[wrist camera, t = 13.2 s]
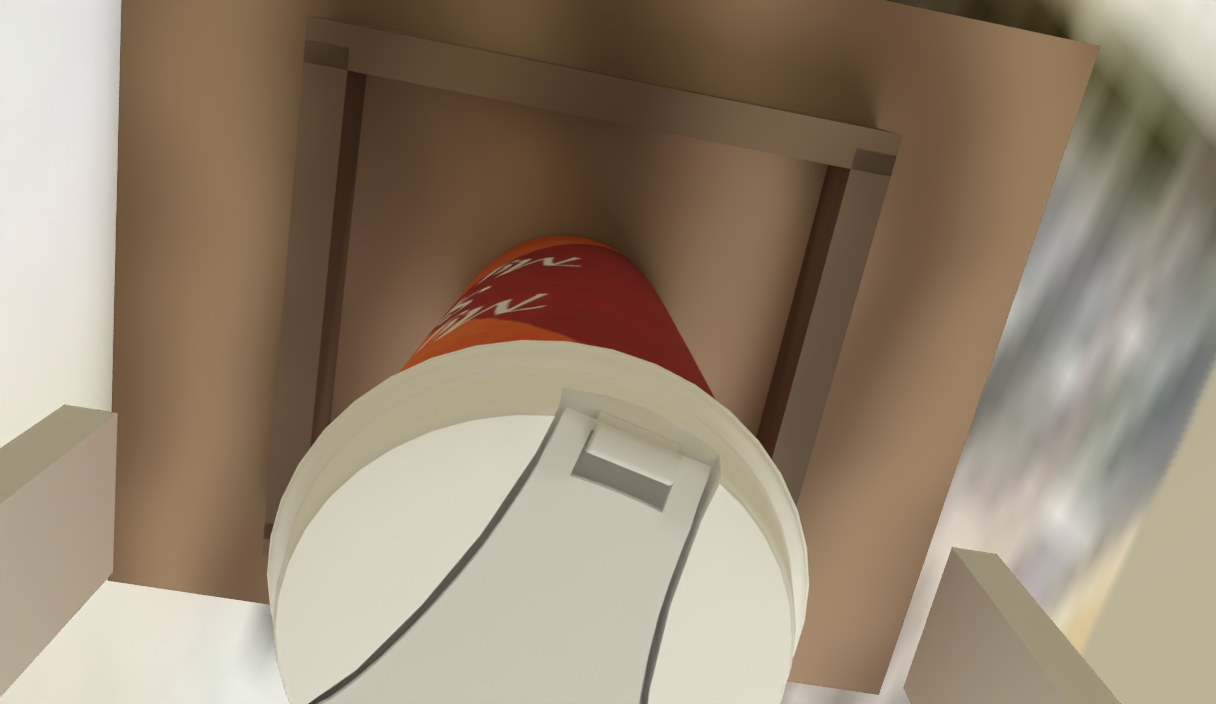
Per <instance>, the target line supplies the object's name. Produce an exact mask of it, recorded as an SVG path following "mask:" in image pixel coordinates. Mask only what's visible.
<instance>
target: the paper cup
mask: <svg viewBox="0 0 1216 704" xmlns="http://www.w3.org/2000/svg"><path fill="white" fill-rule="evenodd" d="M267 580H268V590H269V601H270V611H271V615H272V618H273V631H274V642H275V653H276V661H277V664H278V668H279V671H280V675H281V679H282V682H283V686H284V689H285V693H286V695H287V698H288V700H289V702H290V704H780V702H781V700H782V696H783V693H784V690H785V687H786V683H787V680H788V677H789V674H790V670H791V667H792V659H793V657H794V654H795V651H796V648H797V644H798V641H799V638H800V635H801V631H802V628H803V625H804V622H805V615H806V606H807V598H808V590H809V574H808V557H807V546H806V542H805V538H804V534H803V530H802V526H801V522H800V517H799V513H798V510H797V508H796V506H795V503H794V501H793V499H792V497H791V494H790V492H789V490H788V488H787V485H786V483H785V481H784V479H783V477H782V474H781V473H780V471H779V470H778V468H777V467H776V465H775V464H774V462H773V461H772V459H771V458H770V456H769V455H768V453H767V452H766V450H765V449H764V448H763V446H762V445H761V443H760V442H759V440H758V439H757V438H756V437H755V436H754V435H753V434H752V433H751V432H750V431H749V430H748V429H747V428H746V427H745V426H744V425H743V424H742V423H741V421H740V420H739V419H738V418H737V417H736V416H735V415H734V414H733V413H732V412H731V411H730V410H729V409H727V408H726V407H725V406H723V405H722V404H721V403H719V402H718V401H717V400H716V399H715V397H714V395H713V393H712V392H711V390H710V388H709V386H708V384H707V382H706V380H705V378H704V377H703V375H702V373H701V371H700V369H699V367H698V365H697V364H696V362H695V360H694V358H693V356H692V354H691V352H690V351H689V349H688V347H687V345H686V343H685V342H684V340H683V338H682V336H681V334H680V332H679V331H678V329H677V327H676V325H675V323H674V321H673V320H672V318H671V316H670V314H669V313H668V311H667V309H666V307H665V306H664V304H663V302H662V301H661V299H660V297H659V296H658V294H657V293H656V291H655V289H654V288H653V286H652V285H651V283H650V282H649V281H648V279H647V278H646V277H645V275H644V274H643V273H642V272H641V271H640V270H639V269H638V267H637V266H636V265H634V264H633V263H632V262H631V261H630V260H629V259H628V258H627V257H625V256H624V255H622V254H621V253H620V252H618V251H616V250H615V249H613V248H611V247H609V246H607V245H605V244H603V243H600V242H598V241H595V240H591V239H588V238H583V237H578V236H569V235H554V236H545V237H539V238H535V239H531V240H528V241H525V242H523V243H520V244H518V245H516V246H514V247H512V248H510V249H508V250H507V251H505V252H504V253H502V254H501V255H499V256H498V257H497V258H495V259H494V260H493V261H492V262H491V263H490V264H488V265H487V266H486V267H485V268H484V269H483V270H482V271H481V272H480V273H479V274H478V275H477V277H476V278H475V279H474V280H473V281H472V282H471V283H470V284H469V286H468V287H467V288H466V289H465V290H464V292H463V293H462V294H461V295H460V296H459V298H458V299H457V300H456V301H455V302H454V304H453V305H452V306H451V307H450V309H449V310H448V311H447V312H446V314H445V315H444V316H443V317H442V319H441V320H440V321H439V322H438V324H437V325H436V326H435V327H434V328H433V330H432V331H431V332H430V333H429V335H428V336H427V337H426V338H425V340H424V341H423V342H422V344H421V345H420V346H419V347H418V349H417V350H416V351H415V352H414V354H413V355H412V356H411V357H410V359H409V360H408V361H407V363H406V364H405V365H404V366H403V368H402V369H401V370H400V371H399V373H398V374H395V375H393V376H391V377H389V378H388V379H386V380H385V381H383V382H382V383H380V384H379V385H377V386H376V387H374V388H373V389H371V390H370V391H368V392H367V393H366V394H364V395H363V396H361V397H360V398H358V399H357V400H355V401H354V402H353V403H352V404H351V405H350V406H349V407H348V408H346V409H345V410H344V411H343V412H342V413H341V414H340V415H339V416H338V417H337V418H336V419H335V420H334V421H333V422H332V423H331V424H330V425H328V426H327V427H326V428H325V429H324V430H323V432H322V433H321V434H320V436H319V437H318V438H317V440H316V441H315V443H314V444H313V445H312V447H311V448H310V449H309V451H308V452H307V453H306V455H305V456H304V457H303V459H302V460H301V461H300V463H299V464H298V466H297V468H296V470H295V472H294V474H293V476H292V478H291V480H290V482H289V484H288V486H287V488H286V490H285V492H284V494H283V496H282V498H281V501H280V504H279V508H278V512H277V515H276V519H275V522H274V526H273V529H272V533H271V536H270V547H269V558H268V569H267Z"/></svg>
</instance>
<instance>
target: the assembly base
mask: <svg viewBox="0 0 1216 704" xmlns="http://www.w3.org/2000/svg"><path fill="white" fill-rule="evenodd" d="M1099 49H1100V46H1098V45H1093V44H1088V43H1084V42H1079V41H1074V40H1070V39H1065V38H1060V37H1056V36H1051V35H1046V34H1041V33H1037V32H1032V31H1027V30H1023V29H1018V28H1013V27H1008V26H1004V25H999V24H994V23H990V22H985V21H980V20H975V19H971V18H966V17H961V16H957V15H952V14H947V13H942V12H938V11H933V10H928V9H924V8H919V7H914V6H909V5H905V4H900V3H895V2H891V1H886V0H122V4H121V45H120V87H119V129H118V171H117V213H116V254H115V296H114V338H113V380H112V412H114V413H118V414H117V449H116V483H115V518H114V552H113V573H112V574H111V575H110V576H109V577H108V581H114V582H121V583H128V584H134V585H141V586H148V587H155V588H161V589H168V590H175V591H182V592H188V593H195V594H202V595H209V596H215V597H222V598H229V599H236V600H242V601H249V602H256V603H263V604H269V605H270V601H269V590H268V580H267V569H268V558H269V547H270V536H271V533H272V529H273V526H274V522H275V519H276V515H277V512H278V508H279V504H280V501H281V498H282V496H283V494H284V492H285V490H286V488H287V486H288V484H289V482H290V480H291V478H292V476H293V474H294V472H295V470H296V468H297V466H298V464H299V463H300V461H301V460H302V459H303V457H304V456H305V455H306V453H307V452H308V451H309V449H310V448H311V447H312V445H313V444H314V443H315V441H316V440H317V438H318V437H319V436H320V434H321V433H322V432H323V430H324V429H325V428H326V427H327V426H328V425H330V424H331V423H332V422H333V421H334V420H335V419H336V418H337V417H338V416H339V415H340V414H341V413H342V412H343V411H344V410H345V409H346V408H348V407H349V406H350V405H351V404H352V403H353V402H354V401H355V400H357V399H358V398H360V397H361V396H363V395H364V394H366V393H367V392H368V391H370V390H371V389H373V388H374V387H376V386H377V385H379V384H380V383H382V382H383V381H385V380H386V379H388V378H389V377H391V376H393V375H395V374H398V373H399V371H400V370H401V369H402V368H403V366H404V365H405V364H406V363H407V361H408V360H409V359H410V357H411V356H412V355H413V354H414V352H415V351H416V350H417V349H418V347H419V346H420V345H421V344H422V342H423V341H424V340H425V338H426V337H427V336H428V335H429V333H430V332H431V331H432V330H433V328H434V327H435V326H436V325H437V324H438V322H439V321H440V320H441V319H442V317H443V316H444V315H445V314H446V312H447V311H448V310H449V309H450V307H451V306H452V305H453V304H454V302H455V301H456V300H457V299H458V298H459V296H460V295H461V294H462V293H463V292H464V290H465V289H466V288H467V287H468V286H469V284H470V283H471V282H472V281H473V280H474V279H475V278H476V277H477V275H478V274H479V273H480V272H481V271H482V270H483V269H484V268H485V267H486V266H487V265H488V264H490V263H491V262H492V261H493V260H494V259H495V258H497V257H498V256H499V255H501V254H502V253H504V252H505V251H507V250H508V249H510V248H512V247H514V246H516V245H518V244H520V243H523V242H525V241H528V240H531V239H535V238H539V237H545V236H554V235H569V236H578V237H583V238H588V239H591V240H595V241H598V242H600V243H603V244H605V245H607V246H609V247H611V248H613V249H615V250H616V251H618V252H620V253H621V254H622V255H624V256H625V257H627V258H628V259H629V260H630V261H631V262H632V263H633V264H634V265H636V266H637V267H638V269H639V270H640V271H641V272H642V273H643V274H644V275H645V277H646V278H647V279H648V281H649V282H650V283H651V285H652V286H653V288H654V289H655V291H656V293H657V294H658V296H659V297H660V299H661V301H662V302H663V304H664V306H665V307H666V309H667V311H668V313H669V314H670V316H671V318H672V320H673V321H674V323H675V325H676V327H677V329H678V331H679V332H680V334H681V336H682V338H683V340H684V342H685V343H686V345H687V347H688V349H689V351H690V352H691V354H692V356H693V358H694V360H695V362H696V364H697V365H698V367H699V369H700V371H701V373H702V375H703V377H704V378H705V380H706V382H707V384H708V386H709V388H710V390H711V392H712V393H713V395H714V397H715V399H716V400H717V401H718V402H719V403H721V404H722V405H723V406H725V407H726V408H727V409H729V410H730V411H731V412H732V413H733V414H734V415H735V416H736V417H737V418H738V419H739V420H740V421H741V423H742V424H743V425H744V426H745V427H746V428H747V429H748V430H749V431H750V432H751V433H752V434H753V435H754V436H755V437H756V438H757V439H758V440H759V442H760V443H761V445H762V446H763V448H764V449H765V450H766V452H767V453H768V455H769V456H770V458H771V459H772V461H773V462H774V464H775V465H776V467H777V468H778V470H779V471H780V473H781V474H782V477H783V479H784V481H785V483H786V485H787V488H788V490H789V492H790V494H791V497H792V499H793V501H794V503H795V506H796V508H797V510H798V513H799V517H800V522H801V526H802V530H803V534H804V538H805V542H806V546H807V557H808V574H809V590H808V598H807V606H806V615H805V622H804V625H803V628H802V631H801V635H800V638H799V641H798V644H797V648H796V651H795V654H794V657H793V659H792V667H791V670H790V674H789V677H788V680H787V681H789V682H796V683H803V684H809V685H816V686H823V687H830V688H836V689H843V690H850V691H857V692H863V693H870V694H877V695H879V692H880V689H881V686H882V684H883V681H884V678H885V675H886V672H887V669H888V666H889V663H890V660H891V657H892V654H893V651H894V648H895V645H896V643H897V640H898V637H899V634H900V631H901V628H902V625H903V622H904V619H905V616H906V613H907V610H908V607H909V605H910V602H911V599H912V596H913V593H914V590H915V587H916V584H917V581H918V578H919V575H920V572H921V569H922V567H923V564H924V561H925V558H926V555H927V552H928V549H929V546H930V543H931V540H932V537H933V534H934V531H935V529H936V526H937V523H938V520H939V517H940V514H941V511H942V508H943V505H944V502H945V499H946V496H947V493H948V490H949V488H950V485H951V482H952V479H953V476H954V473H955V470H956V467H957V464H958V461H959V458H960V455H961V452H962V450H963V447H964V444H965V441H966V438H967V435H968V432H969V429H970V426H971V423H972V420H973V417H974V414H975V412H976V409H977V406H978V403H979V400H980V397H981V394H982V391H983V388H984V385H985V382H986V379H987V376H988V373H989V371H990V368H991V365H992V362H993V359H994V356H995V353H996V350H997V347H998V344H999V341H1000V338H1001V335H1002V333H1003V330H1004V327H1005V324H1006V321H1007V318H1008V315H1009V312H1010V309H1011V306H1012V303H1013V300H1014V297H1015V295H1016V292H1017V289H1018V286H1019V283H1020V280H1021V277H1022V274H1023V271H1024V268H1025V265H1026V262H1027V259H1028V256H1029V254H1030V251H1031V248H1032V245H1033V242H1034V239H1035V236H1036V233H1037V230H1038V227H1039V224H1040V221H1041V218H1042V216H1043V213H1044V210H1045V207H1046V204H1047V201H1048V198H1049V195H1050V192H1051V189H1052V186H1053V183H1054V180H1055V178H1056V175H1057V172H1058V169H1059V166H1060V163H1061V160H1062V157H1063V154H1064V151H1065V148H1066V145H1067V142H1068V140H1069V137H1070V134H1071V131H1072V128H1073V125H1074V122H1075V119H1076V116H1077V113H1078V110H1079V107H1080V104H1081V101H1082V99H1083V96H1084V93H1085V90H1086V87H1087V84H1088V81H1089V78H1090V75H1091V72H1092V69H1093V66H1094V63H1095V61H1096V58H1097V55H1098V52H1099Z"/></svg>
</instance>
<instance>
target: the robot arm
mask: <svg viewBox="0 0 1216 704" xmlns="http://www.w3.org/2000/svg"><path fill="white" fill-rule="evenodd" d="M117 414H118V413H114V412H107V411H101V410H95V409H89V408H82V407H76V406H70V405H63V406H62V407H60V408H59V409H57V410H56V411H55V412H53V413H52V414H50V415H49V416H47V417H46V418H44V419H43V420H41V421H40V422H38V423H37V424H35V425H34V426H32V427H31V428H30V429H28V430H27V431H25V432H24V433H22V434H21V435H19V436H18V437H16V438H15V439H13V440H12V441H10V442H9V443H7V444H6V445H5V446H3V447H2V448H0V697H1V696H2V695H3V694H4V693H5V691H6V690H7V689H8V688H9V687H10V686H11V685H12V684H13V683H14V681H15V680H16V679H17V678H18V677H19V676H20V675H21V674H22V673H23V671H24V670H25V669H26V668H27V667H28V666H29V665H30V664H31V663H32V661H33V660H34V659H35V658H36V657H37V656H38V655H39V654H40V653H41V651H42V650H43V649H44V648H45V647H46V646H47V645H48V644H49V643H50V642H51V640H52V639H53V638H54V637H55V636H56V635H57V634H58V633H59V632H60V630H61V629H62V628H63V627H64V626H65V625H66V624H67V623H68V622H69V620H70V619H71V618H72V617H73V616H74V615H75V614H76V613H77V612H78V610H79V609H80V608H81V607H82V606H83V605H84V604H85V603H86V602H87V600H88V599H89V598H90V597H91V596H92V595H93V594H94V593H95V592H96V590H97V589H98V588H99V587H100V586H101V585H102V584H103V583H104V582H105V581H106V579H107V578H108V577H109V576H110V575H111V574H112V573H113V552H114V518H115V483H116V449H117ZM903 688H904V690H905V692H906V694H907V696H908V698H909V700H910V702H911V704H1121V703H1120V702H1119V701H1118V700H1117V698H1116V697H1115V696H1114V695H1113V694H1112V692H1111V691H1110V690H1109V689H1108V688H1107V686H1106V685H1105V684H1104V683H1103V682H1102V680H1101V679H1100V678H1099V677H1098V675H1097V674H1096V673H1095V672H1094V671H1093V669H1092V668H1091V667H1090V666H1089V665H1088V663H1087V662H1086V661H1085V660H1084V659H1083V657H1082V656H1081V655H1080V654H1079V653H1078V651H1077V650H1076V649H1075V648H1074V647H1073V645H1072V644H1071V643H1070V642H1069V640H1068V639H1067V638H1066V637H1065V636H1064V634H1063V633H1062V632H1061V631H1060V630H1059V628H1058V627H1057V626H1056V625H1055V624H1054V622H1053V621H1052V620H1051V619H1050V618H1049V616H1048V615H1047V614H1046V613H1045V612H1044V610H1043V609H1042V608H1041V607H1040V606H1039V604H1038V603H1037V602H1036V601H1035V600H1034V598H1033V597H1032V596H1031V595H1030V593H1029V592H1028V591H1027V590H1026V589H1025V587H1024V586H1023V585H1022V584H1021V583H1020V581H1019V580H1018V579H1017V578H1016V577H1015V575H1014V574H1013V573H1012V572H1011V571H1010V569H1009V568H1008V567H1007V566H1006V565H1005V563H1004V562H1003V561H1002V560H1001V559H1000V557H999V556H998V555H997V554H992V553H986V552H979V551H973V550H967V549H961V548H955V547H952V549H951V552H950V555H949V558H948V561H947V563H946V566H945V569H944V572H943V575H942V578H941V581H940V584H939V587H938V589H937V592H936V595H935V598H934V601H933V604H932V607H931V610H930V612H929V615H928V618H927V621H926V624H925V627H924V630H923V633H922V635H921V638H920V641H919V644H918V647H917V650H916V653H915V656H914V659H913V661H912V664H911V667H910V670H909V673H908V676H907V679H906V682H905V684H904V687H903Z"/></svg>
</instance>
